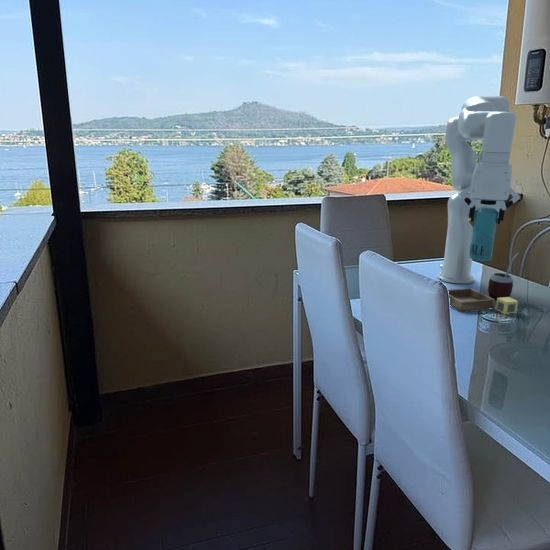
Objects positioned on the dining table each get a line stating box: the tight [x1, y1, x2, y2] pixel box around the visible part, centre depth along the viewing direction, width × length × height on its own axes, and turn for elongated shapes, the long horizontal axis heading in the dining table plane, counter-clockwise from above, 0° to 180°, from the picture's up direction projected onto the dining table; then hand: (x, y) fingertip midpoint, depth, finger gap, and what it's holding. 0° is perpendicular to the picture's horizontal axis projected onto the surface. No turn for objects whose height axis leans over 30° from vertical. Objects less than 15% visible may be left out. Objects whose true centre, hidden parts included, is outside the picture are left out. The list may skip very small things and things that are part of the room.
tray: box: [447, 287, 496, 313], centre depth 145 cm, size 12×12×3 cm
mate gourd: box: [487, 252, 520, 300], centre depth 148 cm, size 8×8×15 cm
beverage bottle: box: [469, 200, 499, 262], centre depth 135 cm, size 6×7×20 cm
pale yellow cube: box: [495, 296, 519, 315], centre depth 138 cm, size 4×4×4 cm
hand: (485, 221), depth 134 cm, fingers closed on beverage bottle, 6 cm apart
